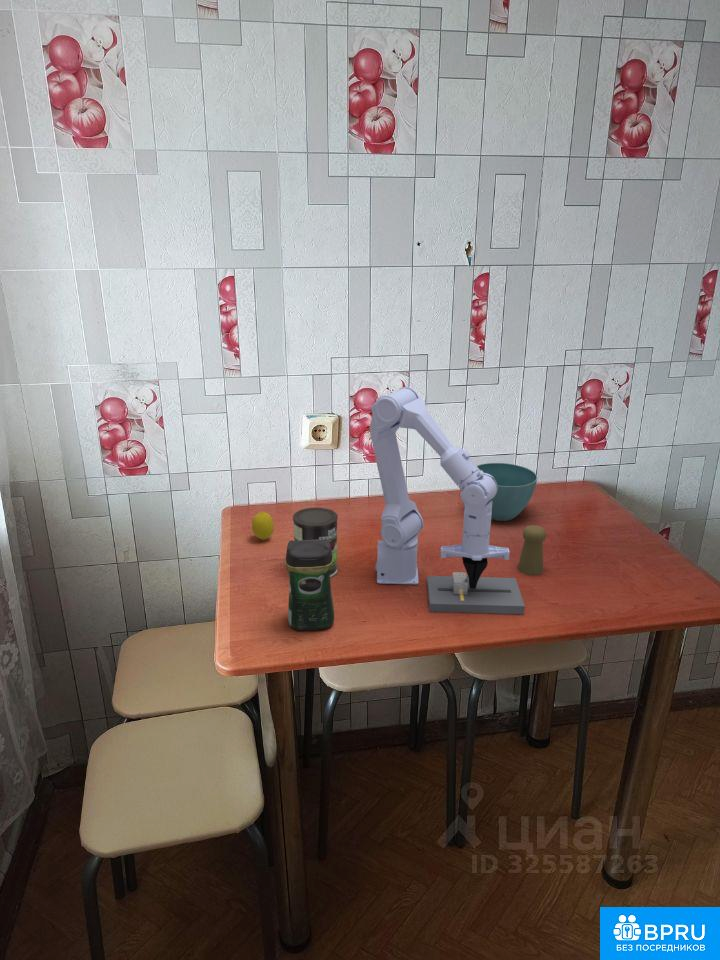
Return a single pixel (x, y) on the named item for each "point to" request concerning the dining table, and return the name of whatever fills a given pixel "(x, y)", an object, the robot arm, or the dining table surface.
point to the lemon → (262, 525)
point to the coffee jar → (309, 584)
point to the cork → (532, 551)
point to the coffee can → (317, 528)
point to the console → (476, 596)
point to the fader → (459, 583)
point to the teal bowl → (510, 489)
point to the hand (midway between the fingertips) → (472, 586)
